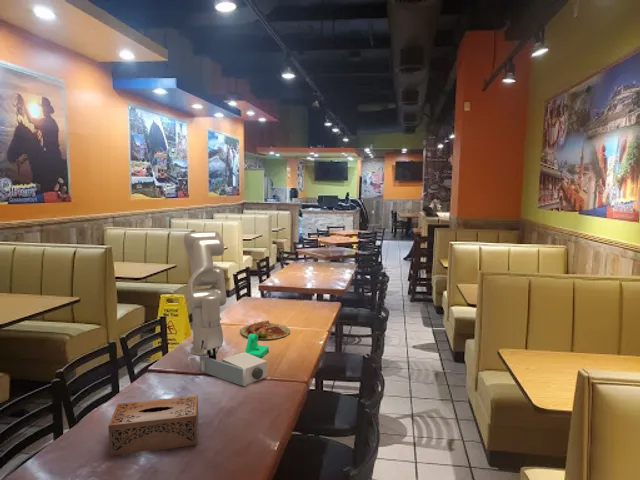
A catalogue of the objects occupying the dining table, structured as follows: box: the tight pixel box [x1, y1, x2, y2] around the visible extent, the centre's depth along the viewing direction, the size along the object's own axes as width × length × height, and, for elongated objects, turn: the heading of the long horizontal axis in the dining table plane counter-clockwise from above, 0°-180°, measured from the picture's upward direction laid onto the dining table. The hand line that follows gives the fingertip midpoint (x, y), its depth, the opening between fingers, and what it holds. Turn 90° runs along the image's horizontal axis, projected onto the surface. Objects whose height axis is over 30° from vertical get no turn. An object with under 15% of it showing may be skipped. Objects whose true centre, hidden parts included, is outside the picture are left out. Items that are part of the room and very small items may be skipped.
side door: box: [198, 355, 247, 387], centre depth 194 cm, size 28×2×7 cm, turn 55°
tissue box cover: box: [108, 395, 199, 456], centre depth 148 cm, size 26×14×10 cm, turn 104°
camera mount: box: [244, 334, 270, 358], centre depth 222 cm, size 12×8×10 cm, turn 164°
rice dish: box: [239, 320, 291, 340], centre depth 256 cm, size 28×28×5 cm
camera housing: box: [221, 351, 268, 386], centre depth 197 cm, size 18×12×7 cm
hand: (212, 362), depth 201 cm, fingers closed
